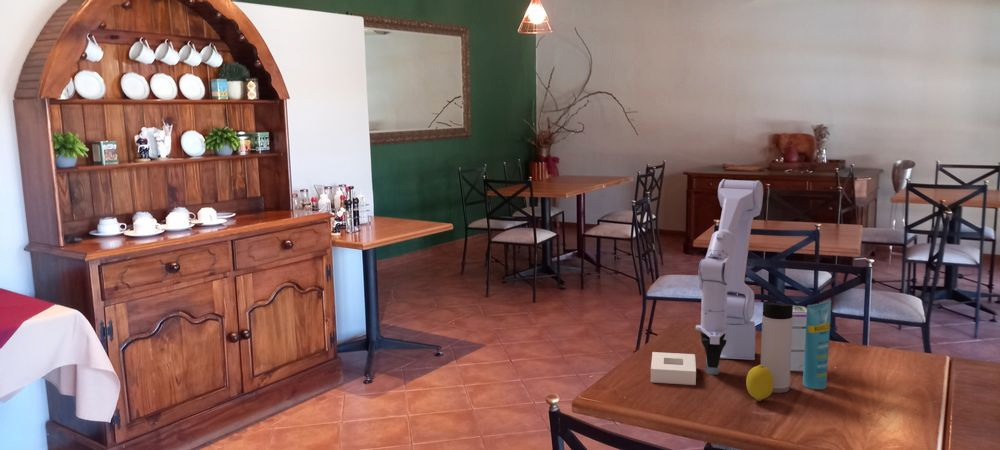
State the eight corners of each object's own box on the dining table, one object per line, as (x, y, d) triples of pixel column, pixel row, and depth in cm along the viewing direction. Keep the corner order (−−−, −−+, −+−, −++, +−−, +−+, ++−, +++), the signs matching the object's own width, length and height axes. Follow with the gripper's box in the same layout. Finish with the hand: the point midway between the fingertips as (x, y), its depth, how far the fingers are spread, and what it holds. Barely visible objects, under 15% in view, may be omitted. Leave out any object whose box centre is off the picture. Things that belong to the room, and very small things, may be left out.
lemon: (776, 405, 160) (778, 369, 159) (750, 406, 160) (751, 369, 159) (768, 395, 166) (769, 360, 165) (742, 396, 166) (743, 360, 165)
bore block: (694, 367, 184) (694, 354, 184) (695, 385, 173) (696, 371, 172) (652, 364, 187) (652, 352, 186) (650, 382, 175) (650, 368, 175)
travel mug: (757, 391, 168) (760, 303, 165) (762, 381, 174) (765, 296, 171) (787, 395, 166) (791, 306, 162) (791, 385, 171) (795, 298, 168)
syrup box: (809, 371, 180) (811, 312, 177) (782, 370, 181) (785, 311, 178) (803, 363, 185) (806, 305, 183) (778, 362, 186) (780, 304, 184)
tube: (814, 392, 167) (818, 307, 164) (794, 386, 171) (798, 302, 168) (834, 385, 171) (838, 302, 168) (815, 379, 175) (819, 297, 172)
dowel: (718, 370, 182) (719, 342, 181) (719, 375, 179) (720, 346, 178) (705, 369, 182) (706, 341, 181) (705, 374, 179) (706, 345, 178)
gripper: (695, 300, 186) (694, 353, 188) (696, 316, 172) (695, 374, 174) (725, 301, 184) (724, 355, 187) (729, 317, 170) (727, 376, 173)
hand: (712, 364), depth 180 cm, fingers closed on dowel, 3 cm apart
